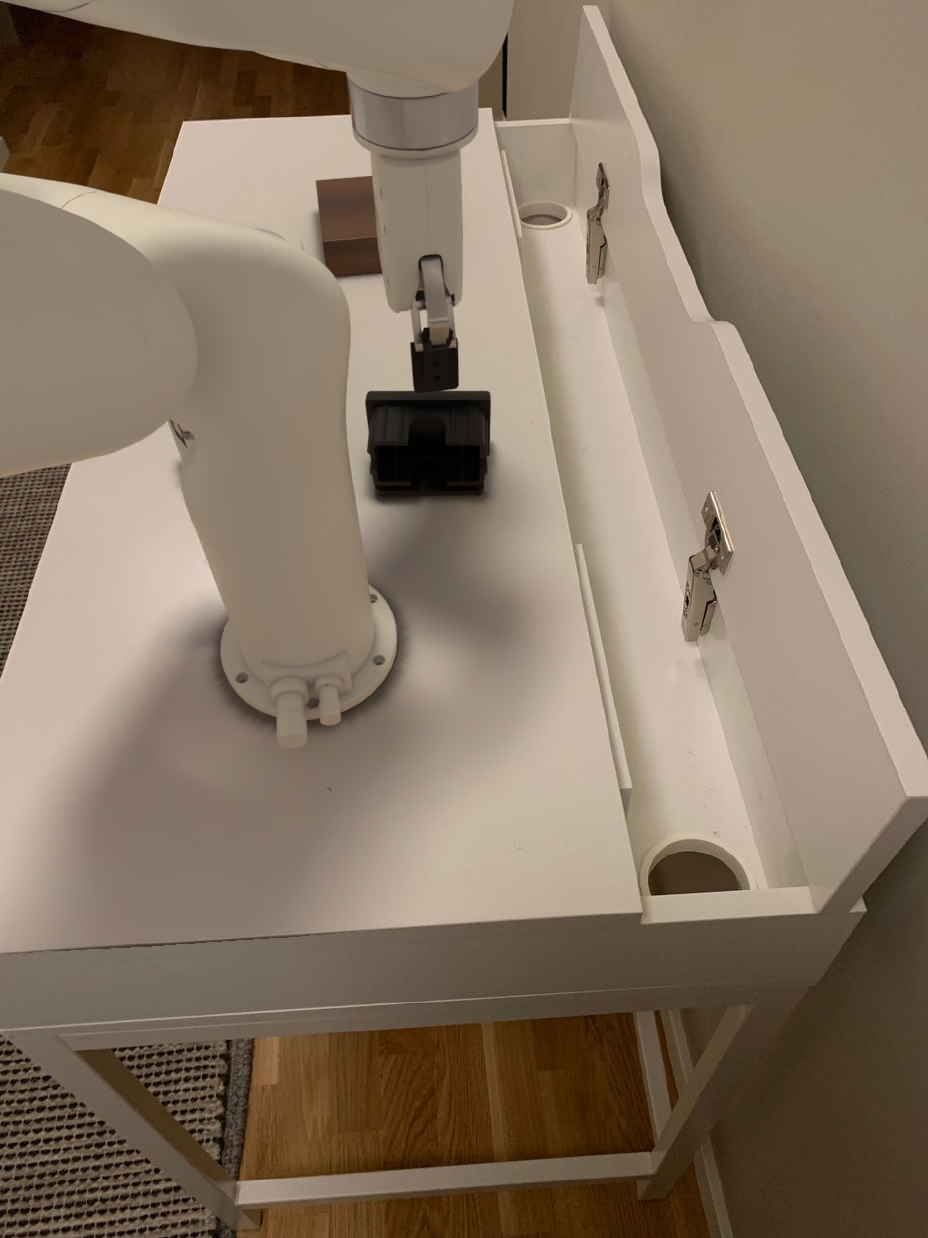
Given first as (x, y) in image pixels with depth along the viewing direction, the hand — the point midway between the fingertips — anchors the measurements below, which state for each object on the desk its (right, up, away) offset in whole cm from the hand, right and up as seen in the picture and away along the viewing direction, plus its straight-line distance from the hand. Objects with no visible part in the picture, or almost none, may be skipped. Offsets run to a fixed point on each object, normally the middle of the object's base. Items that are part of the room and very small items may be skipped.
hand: (427, 345), depth 65 cm
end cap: (0, -7, +10) cm, 12 cm away
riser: (-6, +21, +30) cm, 37 cm away
